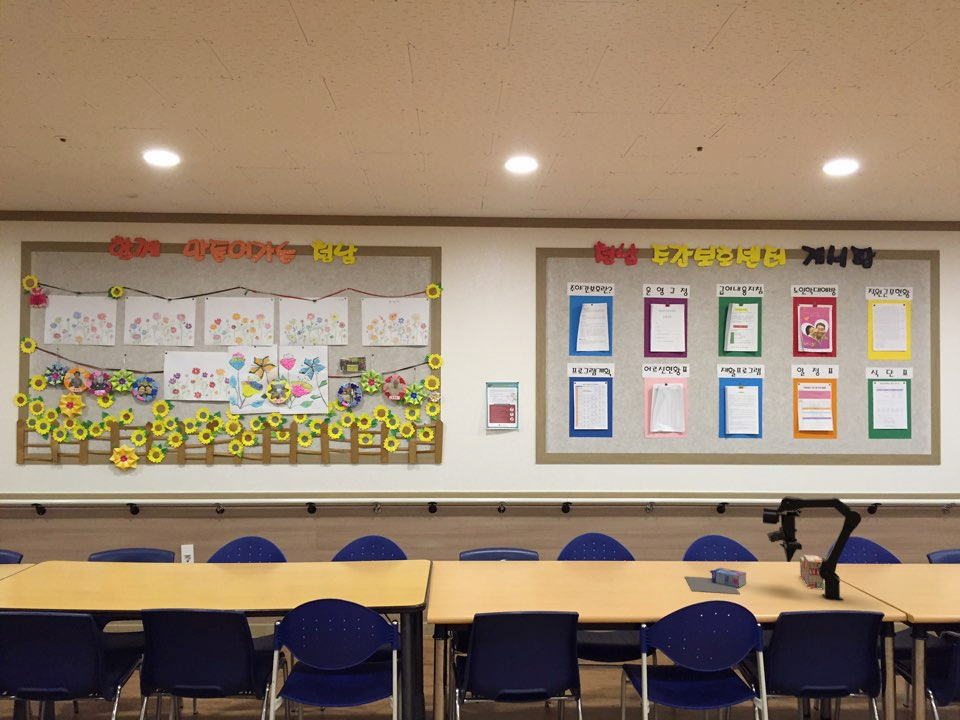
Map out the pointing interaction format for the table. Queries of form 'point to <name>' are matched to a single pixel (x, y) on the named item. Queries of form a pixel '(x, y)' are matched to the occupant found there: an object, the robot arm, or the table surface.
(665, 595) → the table surface
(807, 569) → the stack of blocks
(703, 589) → the mat
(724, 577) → the ink cartridge box
